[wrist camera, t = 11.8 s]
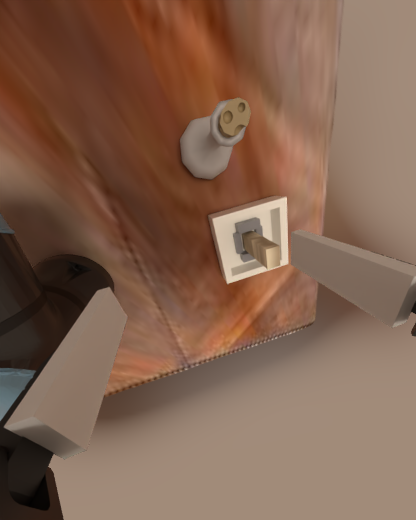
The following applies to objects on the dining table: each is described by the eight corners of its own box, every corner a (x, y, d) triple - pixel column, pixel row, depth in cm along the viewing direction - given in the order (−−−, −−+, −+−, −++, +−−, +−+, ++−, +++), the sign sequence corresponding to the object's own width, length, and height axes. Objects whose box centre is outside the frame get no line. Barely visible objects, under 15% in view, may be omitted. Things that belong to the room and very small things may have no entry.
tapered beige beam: (243, 248, 39) (267, 269, 29) (241, 233, 37) (265, 249, 27) (253, 245, 39) (280, 265, 29) (251, 230, 37) (279, 245, 28)
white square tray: (222, 274, 42) (227, 283, 38) (207, 215, 35) (212, 218, 31) (277, 256, 43) (288, 263, 39) (274, 195, 36) (286, 196, 32)
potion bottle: (233, 162, 32) (295, 136, 16) (196, 188, 32) (219, 190, 16) (209, 112, 28) (259, 9, 12) (168, 143, 29) (162, 87, 13)
